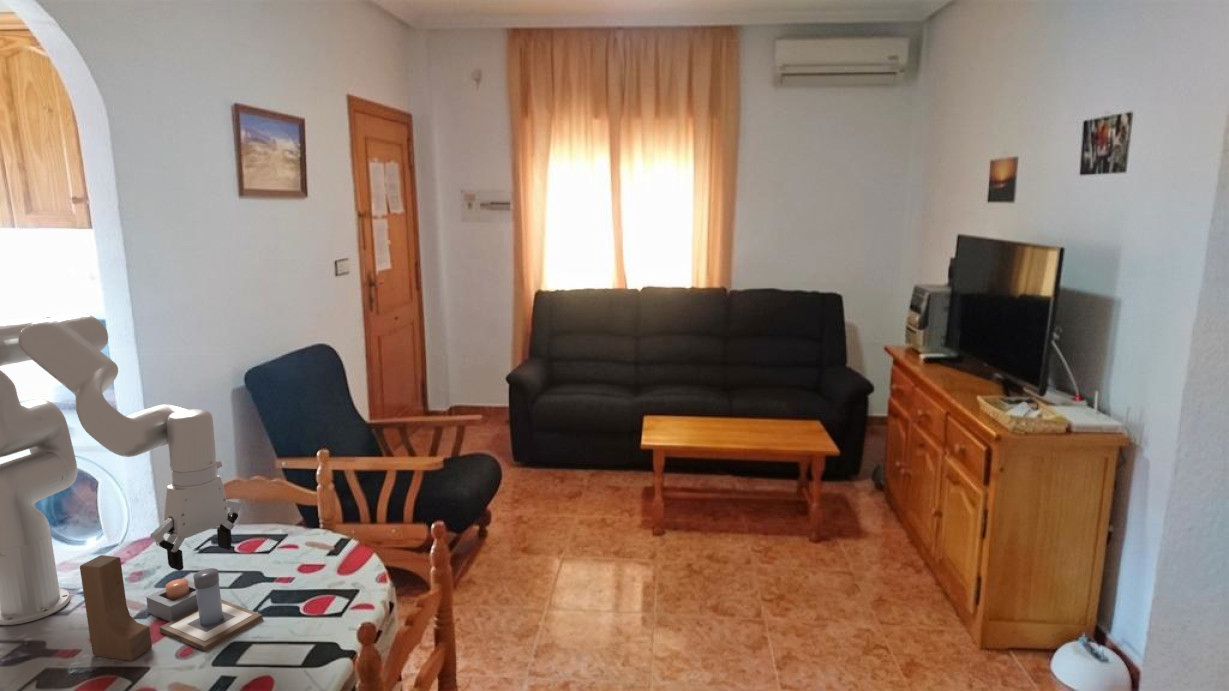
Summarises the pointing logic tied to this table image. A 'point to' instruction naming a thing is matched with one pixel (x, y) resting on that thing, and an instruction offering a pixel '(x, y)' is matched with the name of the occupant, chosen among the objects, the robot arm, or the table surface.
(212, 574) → the grey capped shaker
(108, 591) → the wooden block
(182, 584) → the button
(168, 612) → the button housing
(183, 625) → the picture frame
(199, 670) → the table surface
